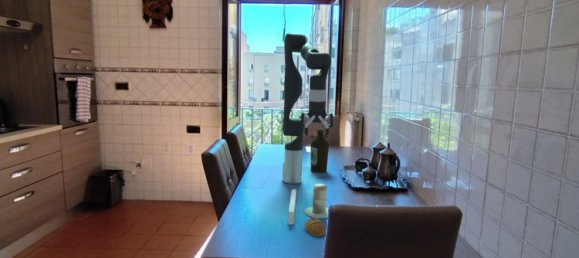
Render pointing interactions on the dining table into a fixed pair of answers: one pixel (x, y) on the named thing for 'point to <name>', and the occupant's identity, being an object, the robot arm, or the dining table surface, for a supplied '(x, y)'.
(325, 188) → the dome-topped cylinder
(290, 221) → the wall
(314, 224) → the pastry
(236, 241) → the dining table surface
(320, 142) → the olive oil
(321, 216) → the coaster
